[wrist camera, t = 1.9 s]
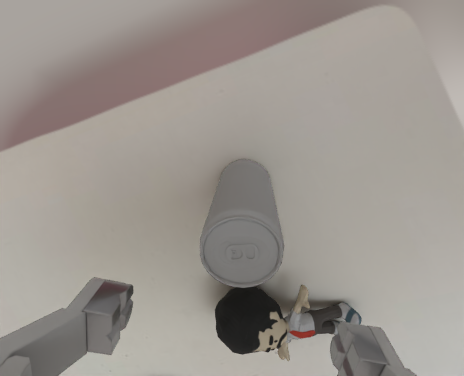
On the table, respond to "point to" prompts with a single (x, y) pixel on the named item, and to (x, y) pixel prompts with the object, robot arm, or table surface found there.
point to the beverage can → (242, 228)
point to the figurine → (272, 321)
